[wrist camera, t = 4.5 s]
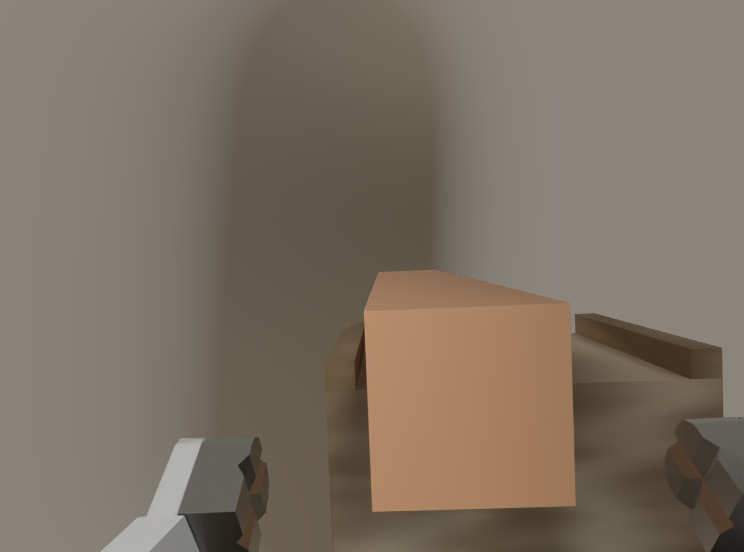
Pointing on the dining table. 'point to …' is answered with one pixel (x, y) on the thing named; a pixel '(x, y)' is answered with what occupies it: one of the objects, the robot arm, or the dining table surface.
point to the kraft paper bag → (591, 452)
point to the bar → (467, 395)
